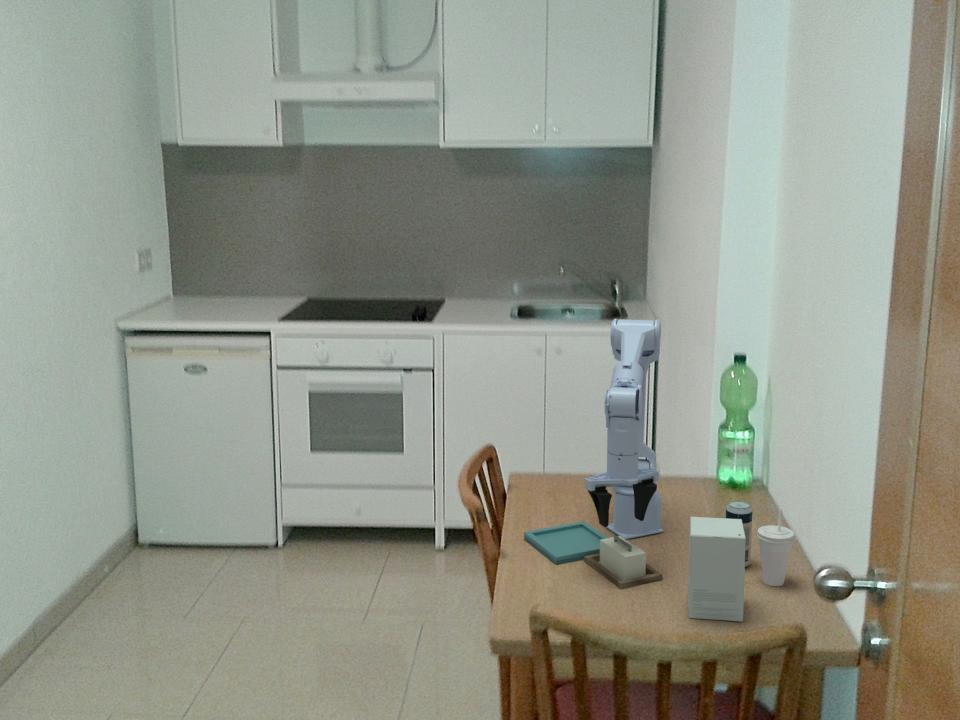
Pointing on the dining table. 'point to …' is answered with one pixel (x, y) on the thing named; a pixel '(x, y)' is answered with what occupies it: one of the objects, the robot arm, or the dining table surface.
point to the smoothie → (775, 551)
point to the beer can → (745, 513)
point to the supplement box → (716, 568)
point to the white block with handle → (622, 558)
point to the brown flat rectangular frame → (616, 580)
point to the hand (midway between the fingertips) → (621, 522)
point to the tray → (566, 541)
